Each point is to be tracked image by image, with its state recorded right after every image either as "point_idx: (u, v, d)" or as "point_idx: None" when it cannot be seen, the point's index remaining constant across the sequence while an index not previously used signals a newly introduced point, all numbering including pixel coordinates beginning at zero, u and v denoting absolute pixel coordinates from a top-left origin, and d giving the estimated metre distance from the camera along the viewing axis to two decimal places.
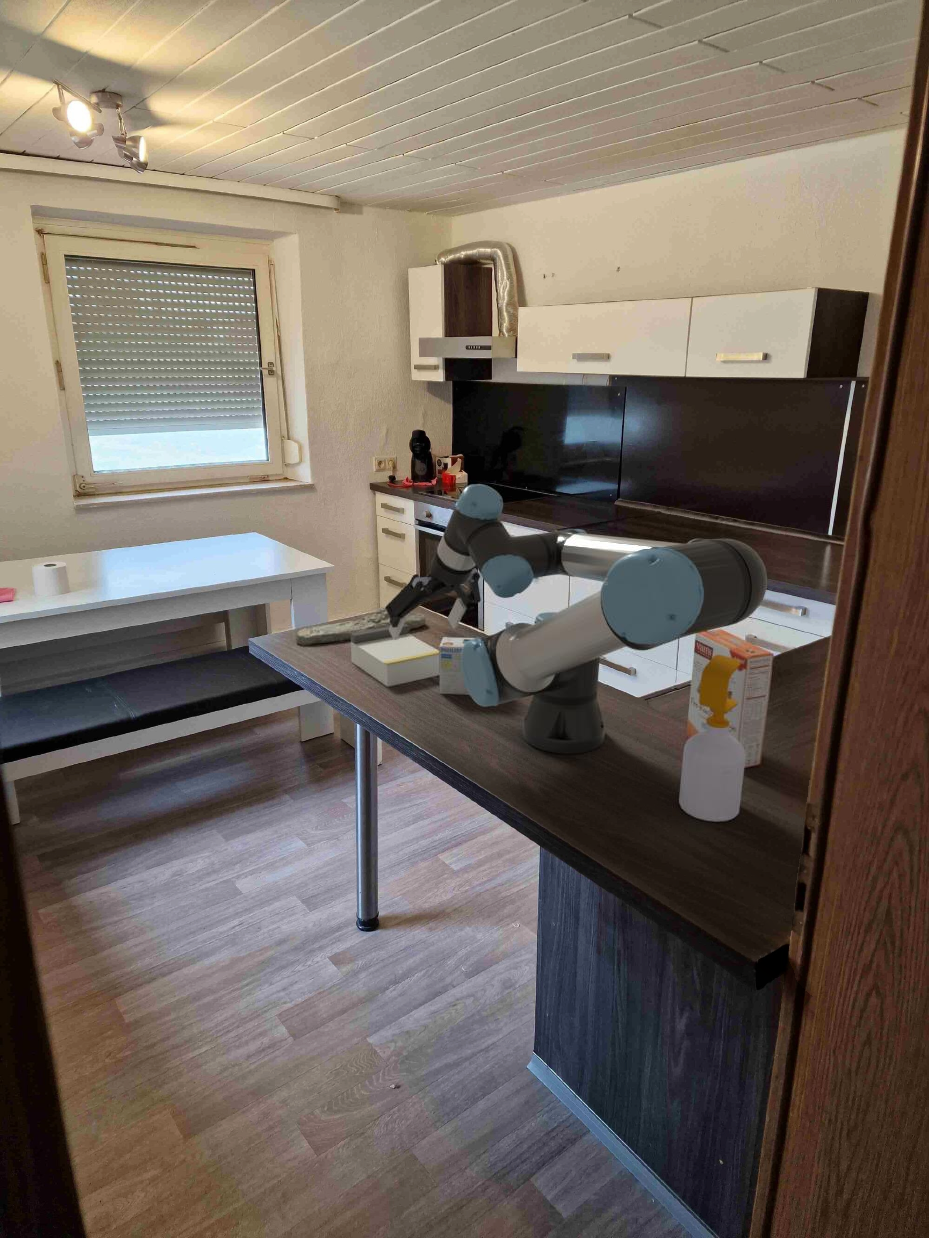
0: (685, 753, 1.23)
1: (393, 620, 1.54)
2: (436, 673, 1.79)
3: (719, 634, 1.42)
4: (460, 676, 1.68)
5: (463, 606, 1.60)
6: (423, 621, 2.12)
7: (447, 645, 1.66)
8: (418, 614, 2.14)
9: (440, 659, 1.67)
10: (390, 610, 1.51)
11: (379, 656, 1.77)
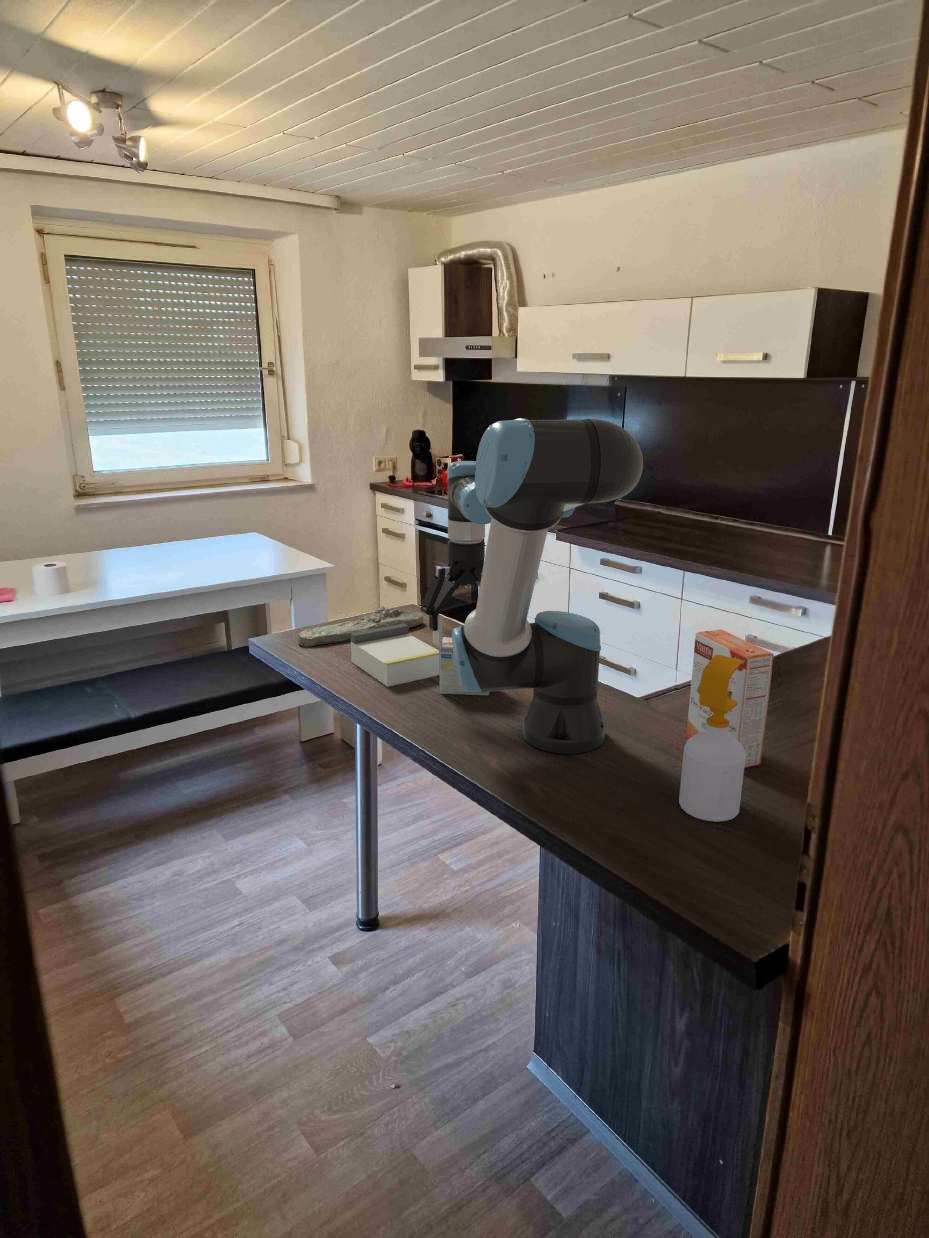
0: (685, 753, 1.23)
1: (431, 622, 1.63)
2: (436, 673, 1.79)
3: (719, 634, 1.42)
4: None
5: None
6: (421, 619, 2.13)
7: (447, 645, 1.66)
8: (415, 613, 2.15)
9: (440, 659, 1.67)
10: (424, 608, 1.61)
11: (379, 656, 1.77)
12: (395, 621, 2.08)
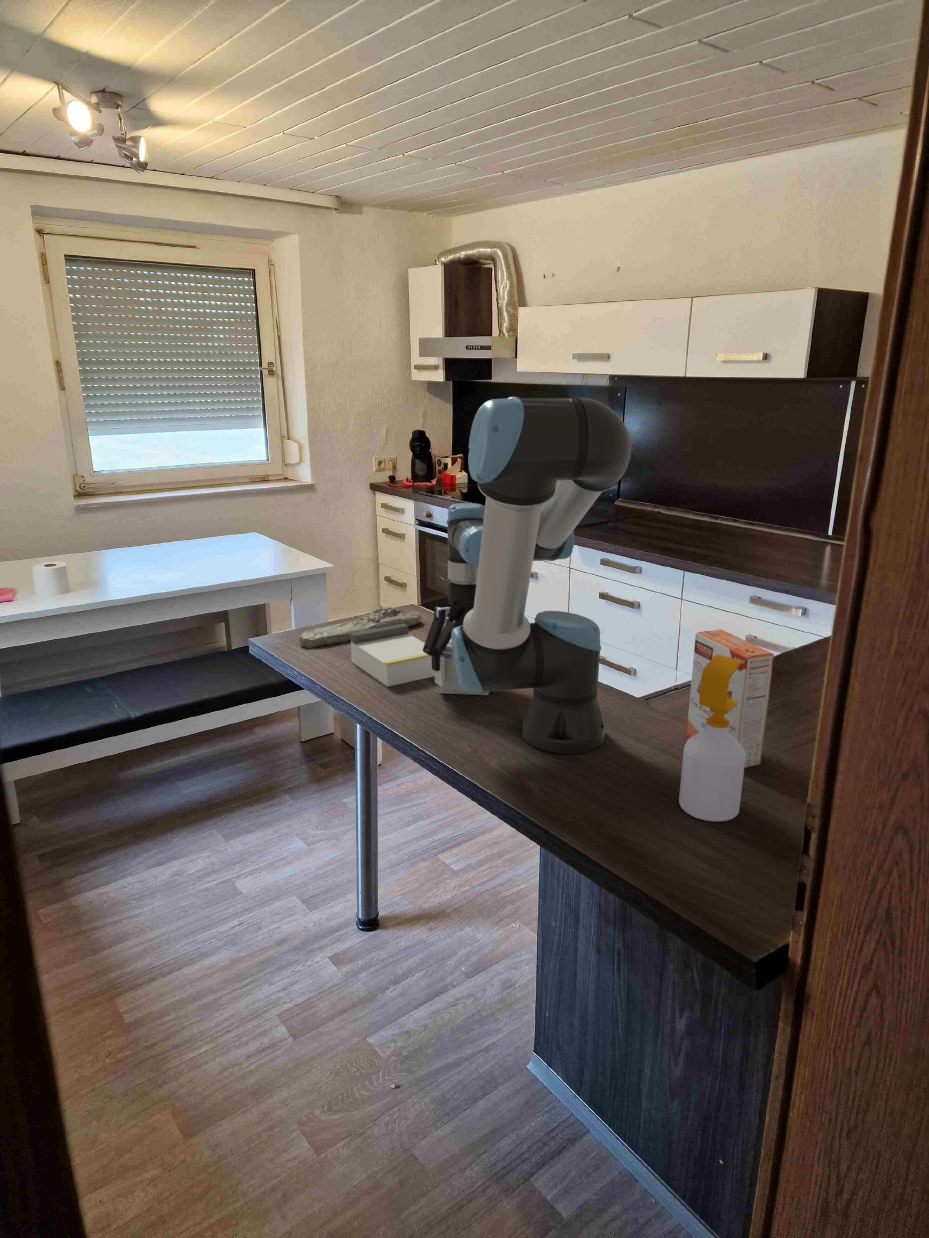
0: (685, 753, 1.23)
1: (434, 662, 1.65)
2: None
3: (719, 634, 1.42)
4: None
5: None
6: (419, 618, 2.14)
7: (447, 645, 1.66)
8: (413, 611, 2.16)
9: None
10: (427, 649, 1.64)
11: (379, 656, 1.77)
12: (395, 620, 2.09)
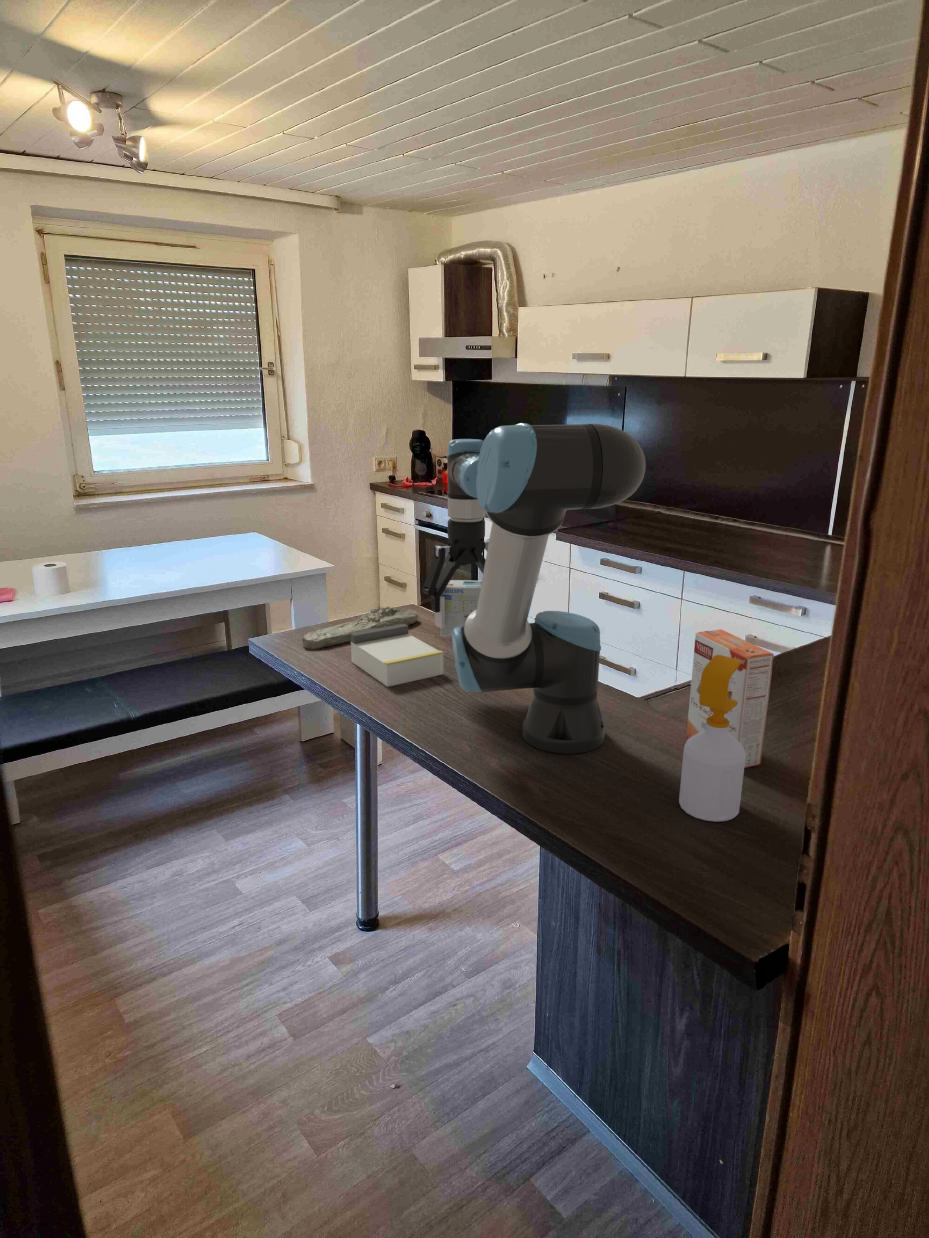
0: (685, 753, 1.23)
1: (433, 603, 1.61)
2: (436, 673, 1.79)
3: (719, 634, 1.42)
4: (460, 618, 1.64)
5: None
6: (417, 617, 2.16)
7: (447, 586, 1.63)
8: (409, 610, 2.18)
9: None
10: (426, 589, 1.60)
11: (379, 656, 1.77)
12: (394, 619, 2.09)
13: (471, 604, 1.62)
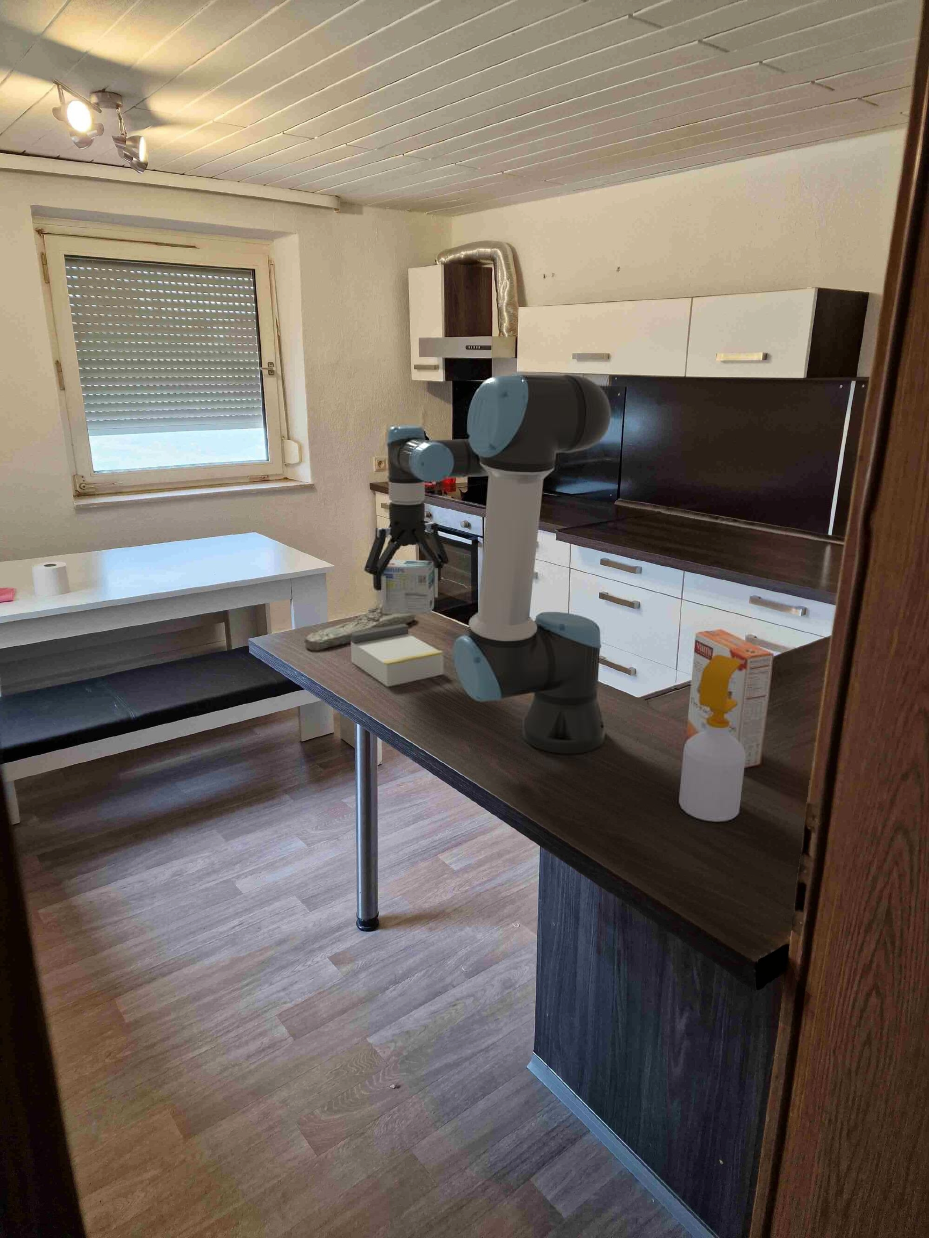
0: (685, 753, 1.23)
1: (375, 582, 1.70)
2: (436, 673, 1.79)
3: (719, 634, 1.42)
4: (401, 596, 1.73)
5: (434, 568, 1.77)
6: (414, 615, 2.17)
7: (388, 565, 1.71)
8: None
9: None
10: (368, 568, 1.69)
11: (379, 656, 1.77)
12: (394, 618, 2.10)
13: (411, 582, 1.71)
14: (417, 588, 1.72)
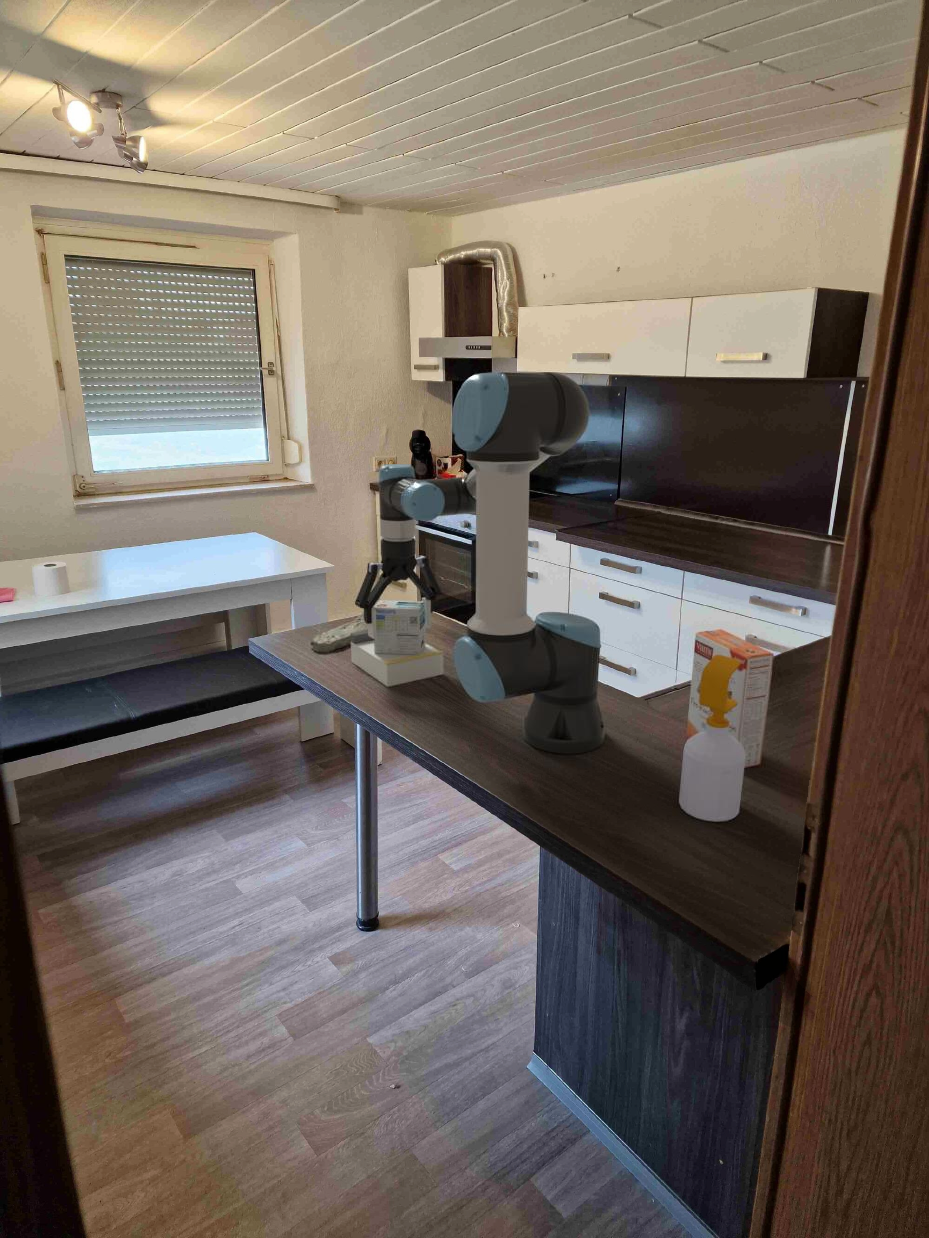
0: (685, 753, 1.23)
1: (366, 615, 1.73)
2: (436, 673, 1.79)
3: (719, 634, 1.42)
4: (393, 636, 1.76)
5: (427, 600, 1.80)
6: None
7: (380, 607, 1.75)
8: None
9: None
10: (358, 602, 1.72)
11: (379, 656, 1.77)
12: None
13: (403, 623, 1.75)
14: (408, 629, 1.75)
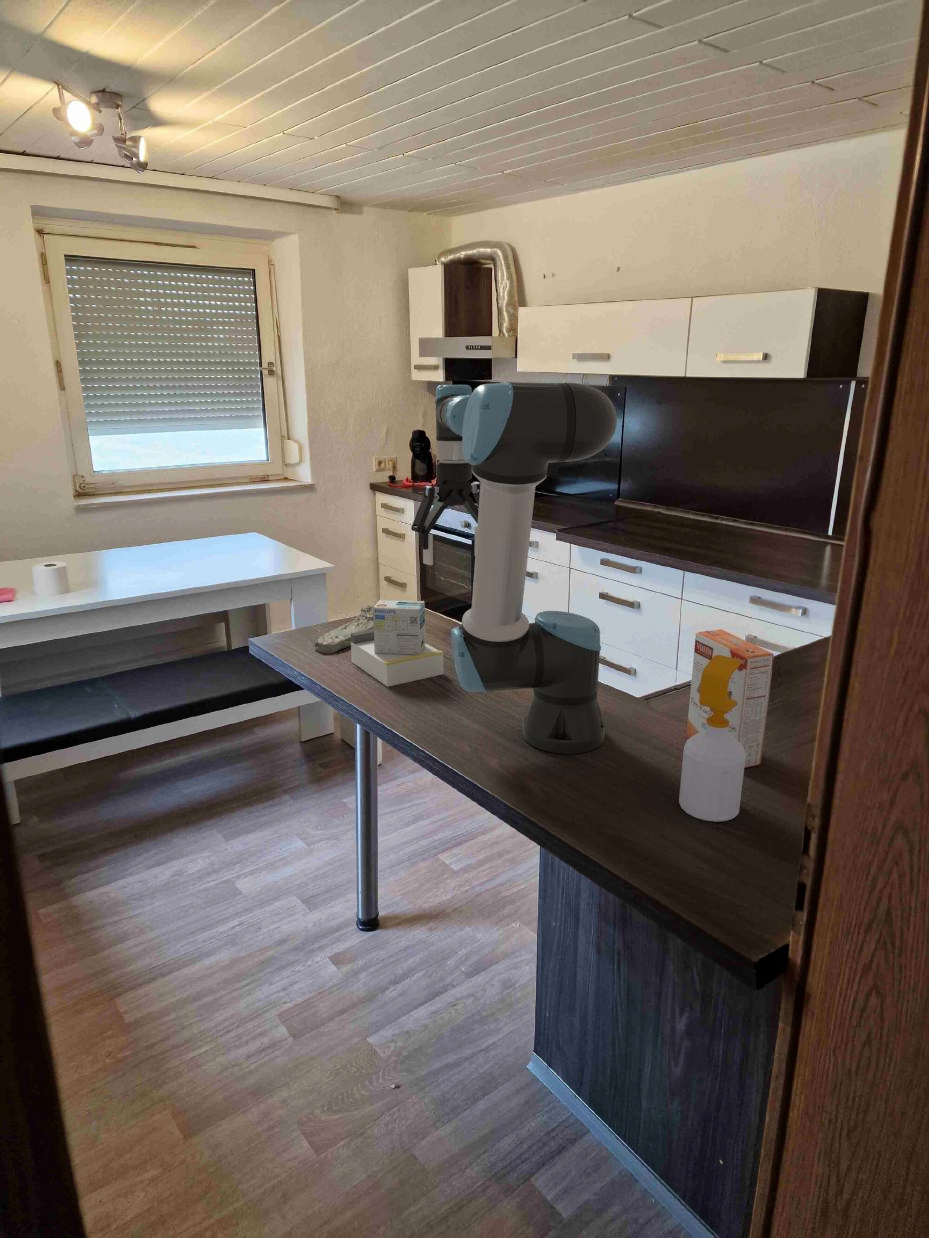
0: (685, 753, 1.23)
1: (422, 540, 1.69)
2: (436, 673, 1.79)
3: (719, 634, 1.42)
4: (393, 636, 1.76)
5: None
6: None
7: (380, 606, 1.75)
8: None
9: (374, 620, 1.76)
10: (415, 526, 1.67)
11: (379, 656, 1.77)
12: None
13: (403, 623, 1.75)
14: (408, 629, 1.75)
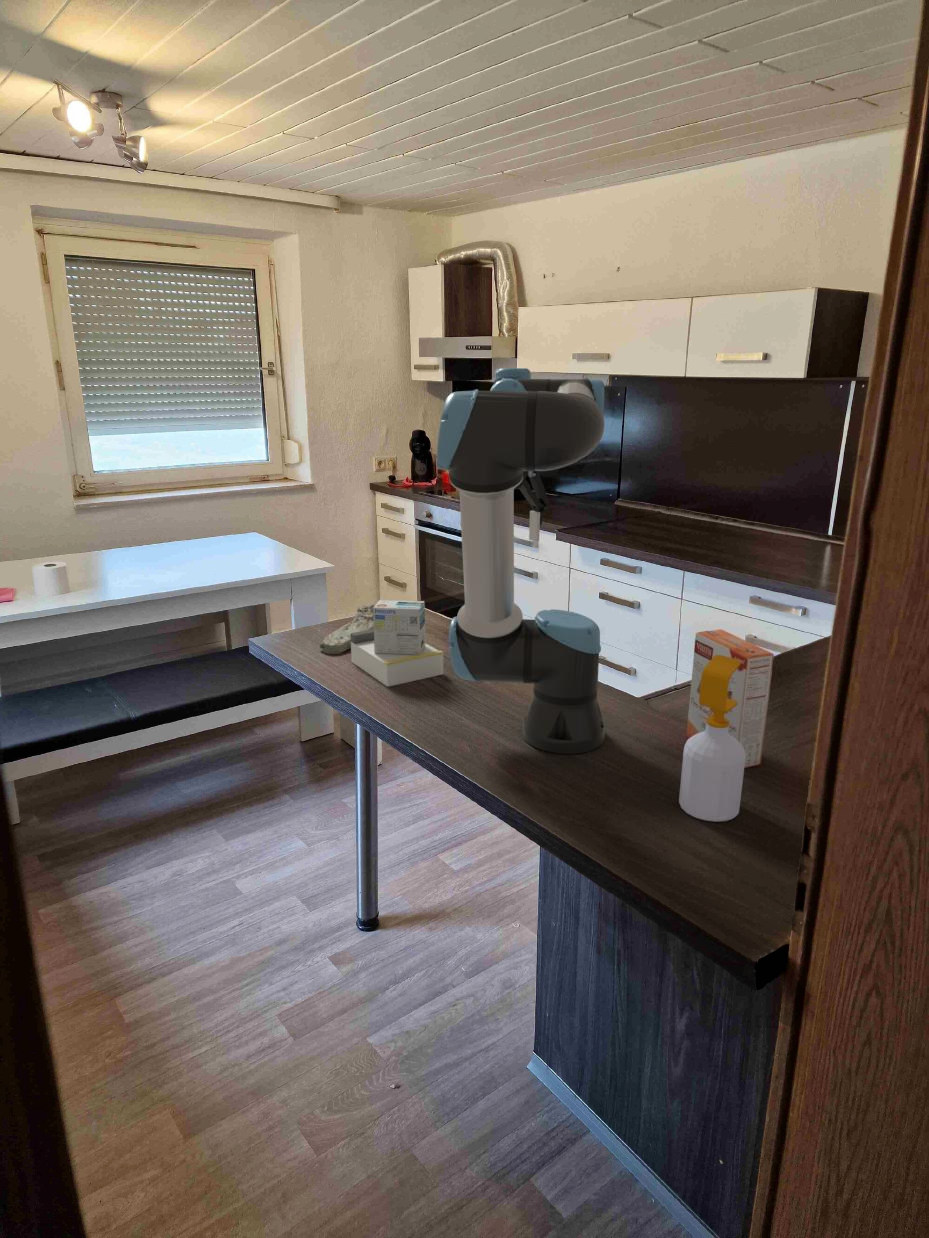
0: (685, 753, 1.23)
1: None
2: (436, 673, 1.79)
3: (719, 634, 1.42)
4: (393, 636, 1.76)
5: (537, 512, 1.77)
6: None
7: (380, 606, 1.75)
8: None
9: (374, 620, 1.76)
10: None
11: (379, 656, 1.77)
12: None
13: (403, 623, 1.75)
14: (408, 629, 1.75)
